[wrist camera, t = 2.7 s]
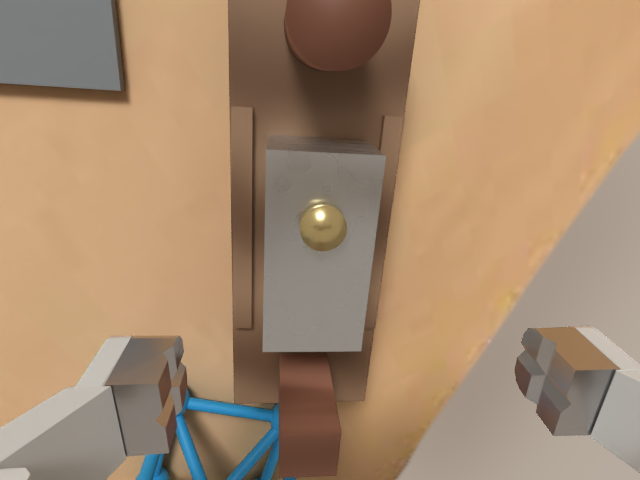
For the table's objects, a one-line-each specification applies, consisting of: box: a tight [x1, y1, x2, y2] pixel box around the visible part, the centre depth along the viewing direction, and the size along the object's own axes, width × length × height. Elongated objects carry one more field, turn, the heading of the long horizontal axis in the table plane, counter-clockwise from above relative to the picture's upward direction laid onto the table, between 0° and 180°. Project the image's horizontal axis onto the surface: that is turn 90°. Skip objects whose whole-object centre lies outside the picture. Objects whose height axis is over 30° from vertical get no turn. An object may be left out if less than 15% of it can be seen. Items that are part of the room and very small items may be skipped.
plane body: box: [228, 0, 420, 478], centre depth 18 cm, size 20×7×10 cm, turn 176°
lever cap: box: [263, 134, 386, 352], centre depth 16 cm, size 8×4×4 cm, turn 176°
